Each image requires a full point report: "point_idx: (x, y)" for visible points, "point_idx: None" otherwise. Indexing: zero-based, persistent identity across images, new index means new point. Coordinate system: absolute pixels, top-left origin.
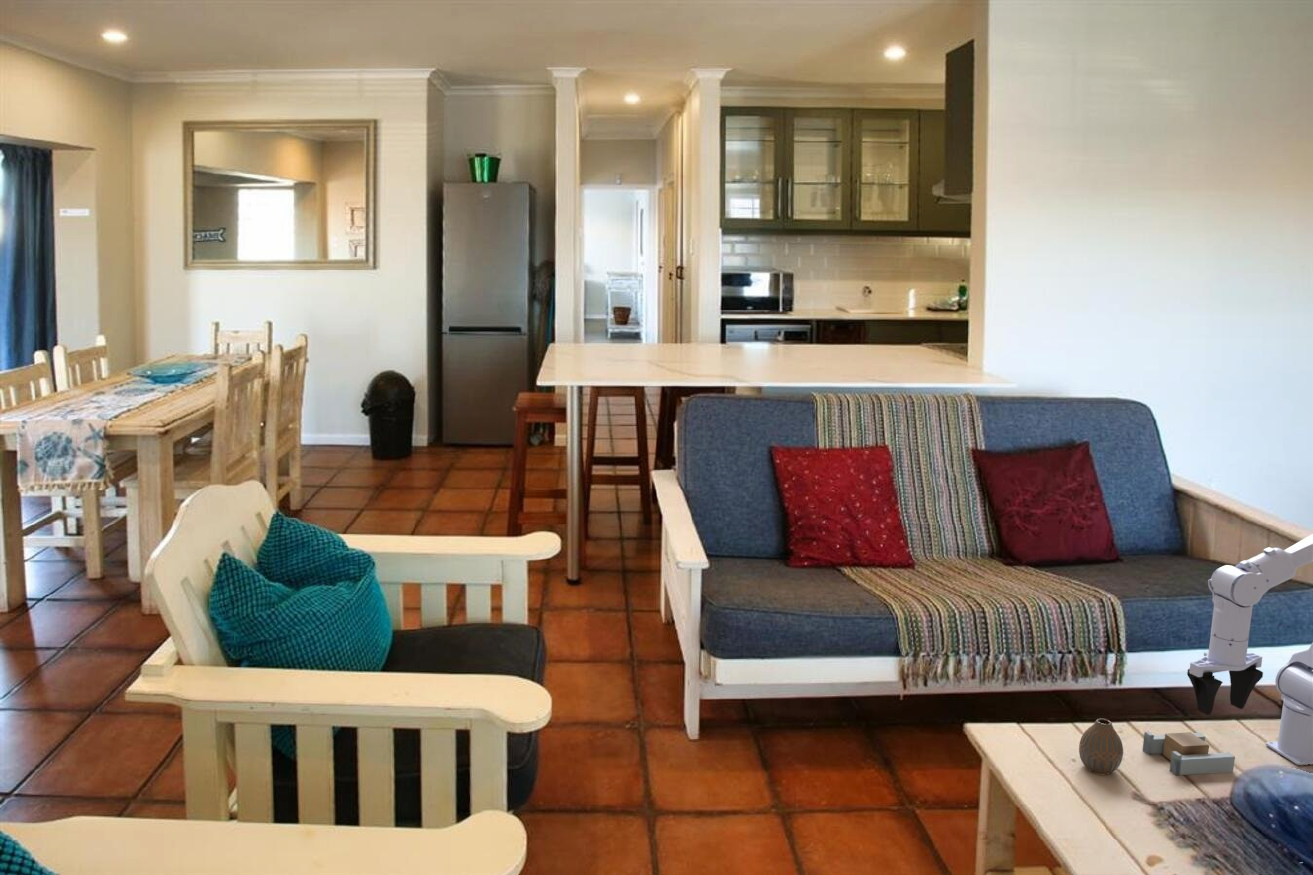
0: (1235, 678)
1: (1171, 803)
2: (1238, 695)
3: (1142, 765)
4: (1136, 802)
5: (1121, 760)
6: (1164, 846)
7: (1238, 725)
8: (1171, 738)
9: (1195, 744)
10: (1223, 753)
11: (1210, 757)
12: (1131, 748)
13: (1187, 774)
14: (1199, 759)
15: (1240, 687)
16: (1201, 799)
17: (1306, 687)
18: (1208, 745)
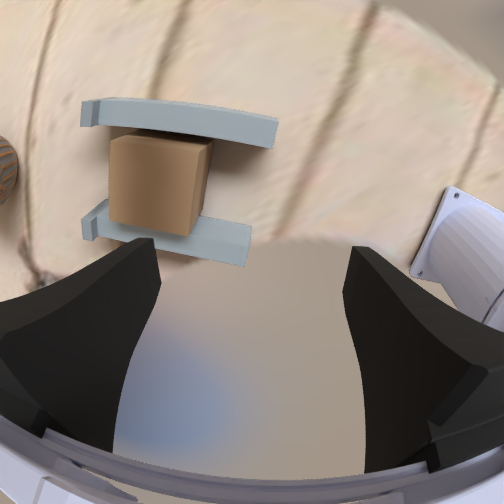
0: (401, 361)
1: (57, 281)
2: (363, 314)
3: (70, 163)
4: (20, 261)
5: (1, 203)
6: None
7: (483, 94)
8: (110, 169)
9: (149, 221)
10: (228, 246)
11: (173, 250)
12: (96, 83)
13: None
14: None
15: (374, 355)
16: None
17: None
18: (185, 235)
